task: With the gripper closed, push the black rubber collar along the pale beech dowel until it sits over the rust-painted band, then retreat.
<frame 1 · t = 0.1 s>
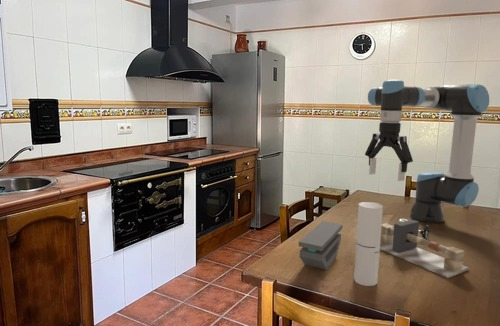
hand: (386, 177, 143), 28 cm above the table, fingers open, 13 cm apart
grey grooved block: (320, 262, 132), on the table
rail: (415, 256, 138), on the table
cylindrical container: (365, 281, 119), on the table
valve: (411, 237, 158), on the table
collar: (405, 235, 141), point 7 cm above the table, slide at 0.0 cm
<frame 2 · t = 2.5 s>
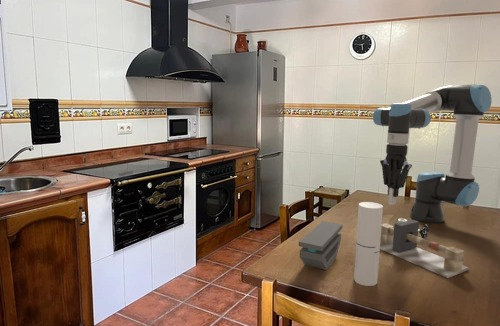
hand: (392, 204, 145), 17 cm above the table, fingers closed
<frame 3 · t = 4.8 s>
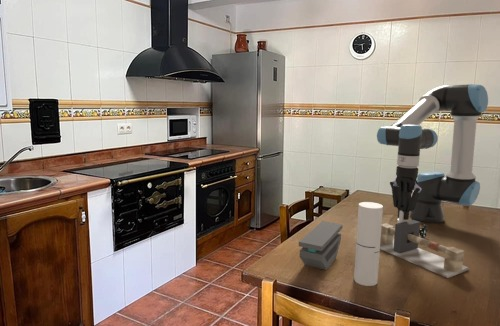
hand: (402, 226, 142), 9 cm above the table, fingers closed
collar: (406, 236, 140), point 7 cm above the table, slide at 0.5 cm, touching gripper
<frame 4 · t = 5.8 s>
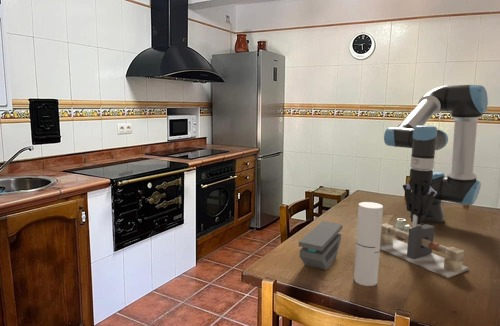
hand: (415, 231, 137), 9 cm above the table, fingers closed
collar: (420, 241, 135), point 6 cm above the table, slide at 6.3 cm, touching gripper
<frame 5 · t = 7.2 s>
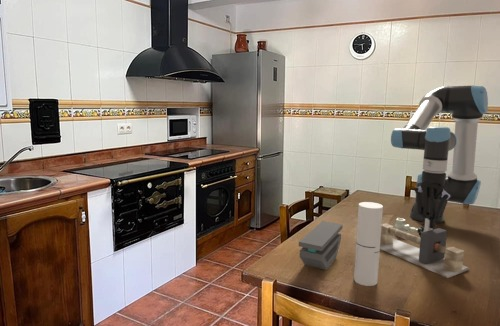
hand: (427, 235, 133), 9 cm above the table, fingers closed
collar: (432, 245, 131), point 6 cm above the table, slide at 11.2 cm, touching gripper
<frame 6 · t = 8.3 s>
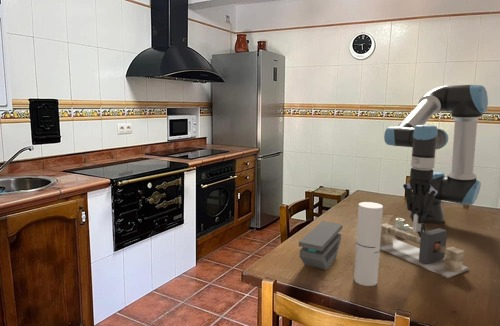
hand: (416, 230, 137), 10 cm above the table, fingers closed
collar: (432, 245, 131), point 6 cm above the table, slide at 11.2 cm
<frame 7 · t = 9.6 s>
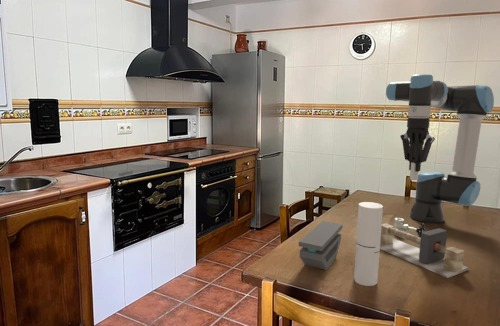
hand: (413, 179, 141), 28 cm above the table, fingers closed
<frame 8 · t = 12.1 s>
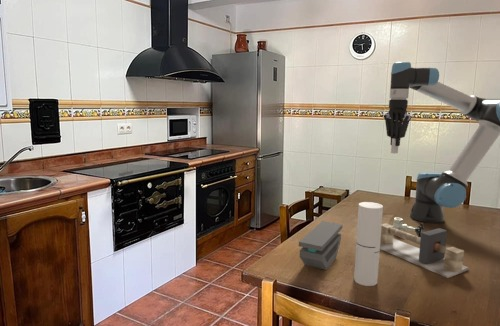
hand: (394, 153, 164), 34 cm above the table, fingers closed
at the end: collar slide at 11.2 cm; collar touching nothing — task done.
